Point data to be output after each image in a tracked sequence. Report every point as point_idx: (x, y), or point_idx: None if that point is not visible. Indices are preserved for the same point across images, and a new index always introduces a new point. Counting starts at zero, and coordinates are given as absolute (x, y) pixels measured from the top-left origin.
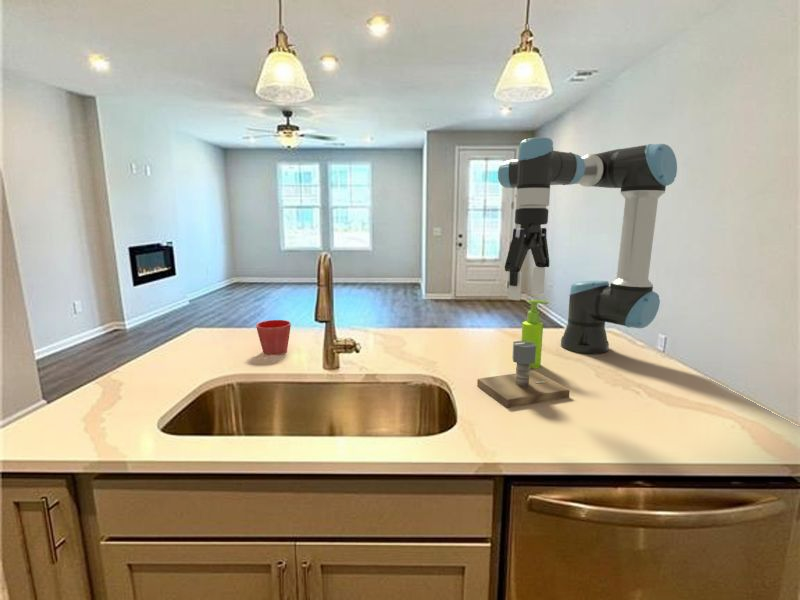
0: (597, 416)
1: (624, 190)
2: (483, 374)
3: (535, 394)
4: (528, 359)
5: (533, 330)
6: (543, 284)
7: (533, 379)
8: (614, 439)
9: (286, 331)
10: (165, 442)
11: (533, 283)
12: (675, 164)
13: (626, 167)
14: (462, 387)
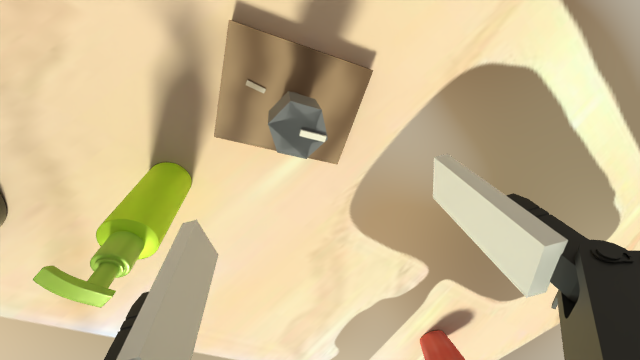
0: None
1: None
2: (287, 187)
3: (313, 52)
4: (307, 98)
5: (150, 215)
6: (175, 253)
7: (253, 106)
8: None
9: (442, 358)
10: (630, 207)
11: (207, 285)
12: None
13: None
14: (356, 166)
